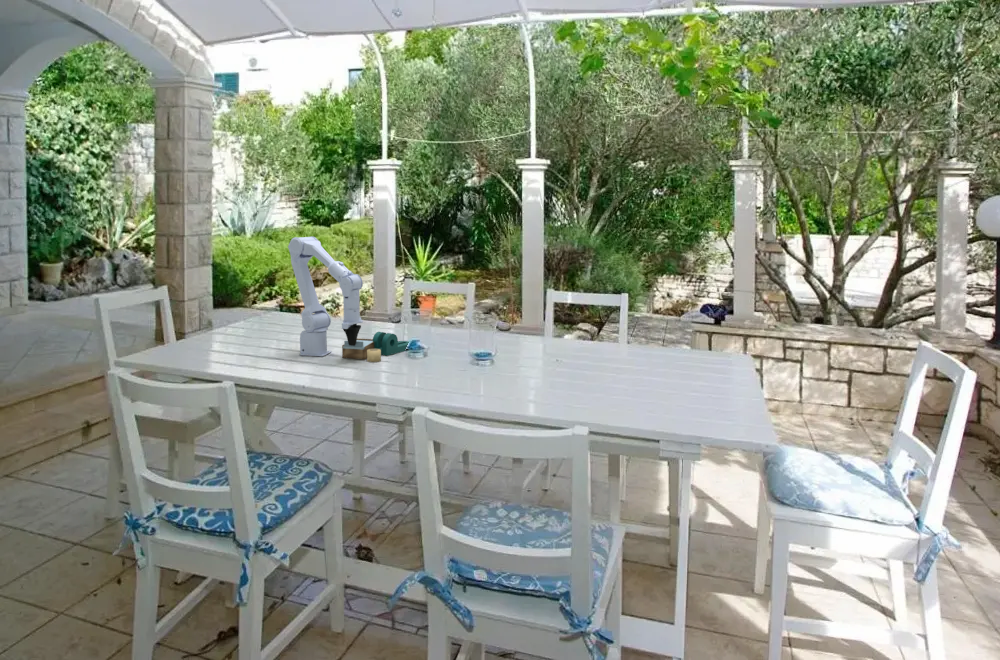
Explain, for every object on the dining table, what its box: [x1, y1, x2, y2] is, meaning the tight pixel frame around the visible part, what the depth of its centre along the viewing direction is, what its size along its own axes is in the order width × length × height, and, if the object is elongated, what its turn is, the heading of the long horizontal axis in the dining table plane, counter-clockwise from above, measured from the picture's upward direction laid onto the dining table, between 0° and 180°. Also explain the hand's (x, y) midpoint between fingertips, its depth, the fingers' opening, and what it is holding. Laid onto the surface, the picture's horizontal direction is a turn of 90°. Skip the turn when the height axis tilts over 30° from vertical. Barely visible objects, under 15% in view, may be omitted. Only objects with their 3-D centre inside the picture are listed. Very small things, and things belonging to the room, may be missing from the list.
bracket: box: [372, 331, 410, 356], centre depth 287 cm, size 18×7×8 cm, turn 150°
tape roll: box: [366, 349, 382, 363], centre depth 270 cm, size 5×5×4 cm
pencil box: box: [341, 337, 374, 360], centre depth 279 cm, size 9×14×5 cm, turn 171°
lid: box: [343, 340, 373, 349], centre depth 278 cm, size 8×13×3 cm, turn 171°
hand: (352, 345), depth 271 cm, fingers closed
